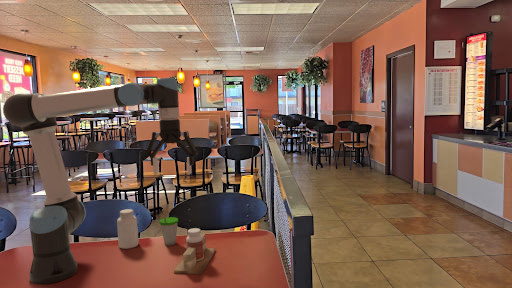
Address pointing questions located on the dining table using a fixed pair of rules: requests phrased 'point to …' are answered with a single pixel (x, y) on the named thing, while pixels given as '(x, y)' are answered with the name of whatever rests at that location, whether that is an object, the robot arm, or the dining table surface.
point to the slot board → (194, 260)
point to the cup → (169, 229)
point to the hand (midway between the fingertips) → (172, 173)
